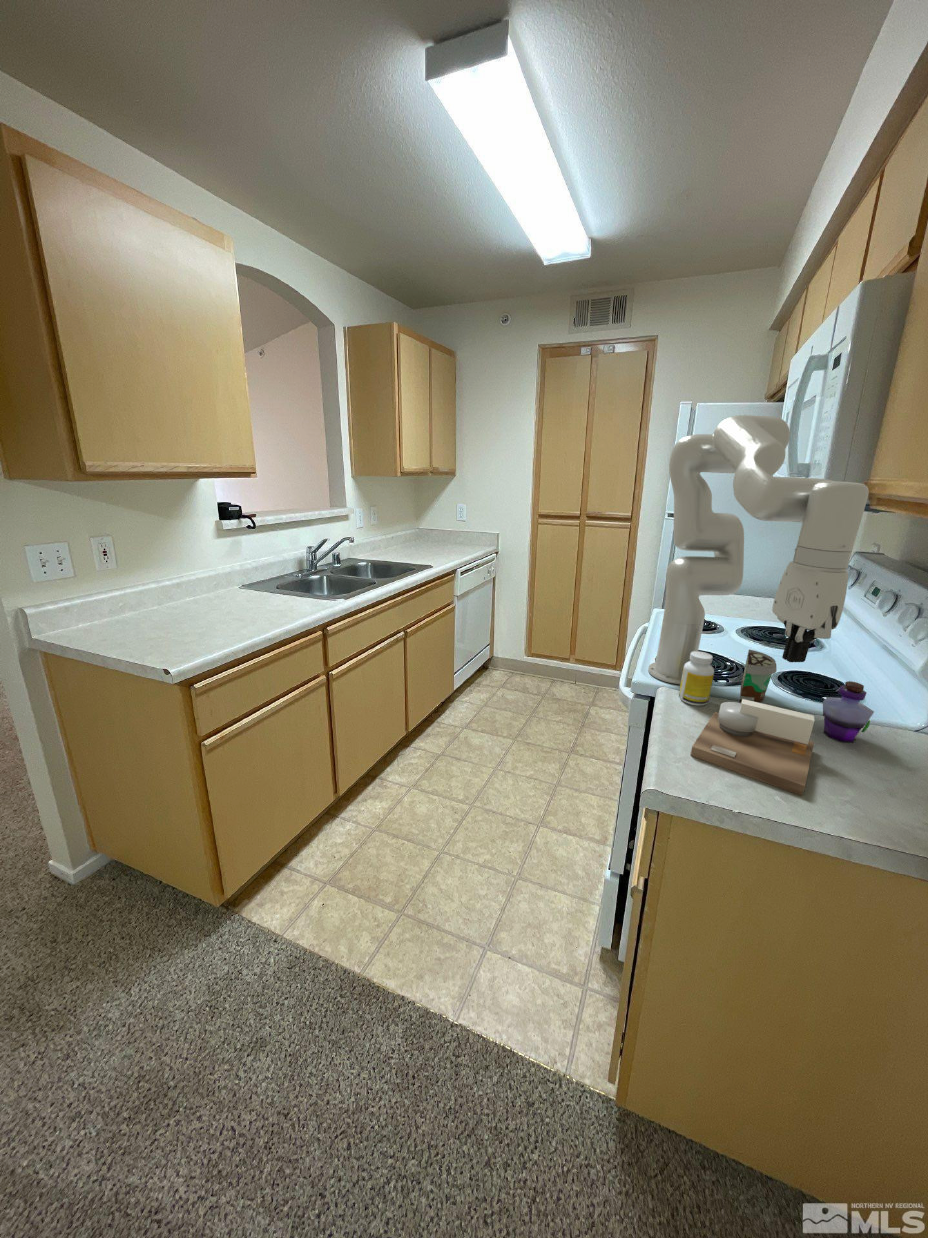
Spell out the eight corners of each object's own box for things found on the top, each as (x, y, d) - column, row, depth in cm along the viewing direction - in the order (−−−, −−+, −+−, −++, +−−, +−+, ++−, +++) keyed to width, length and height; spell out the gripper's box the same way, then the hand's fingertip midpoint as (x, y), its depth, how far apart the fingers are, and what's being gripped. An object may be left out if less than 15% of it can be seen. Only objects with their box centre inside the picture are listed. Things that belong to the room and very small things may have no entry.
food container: (769, 711, 111) (779, 671, 108) (738, 704, 114) (748, 665, 111) (768, 691, 122) (777, 654, 119) (740, 685, 125) (748, 648, 121)
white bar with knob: (716, 725, 98) (721, 703, 96) (719, 711, 104) (723, 690, 102) (808, 750, 90) (815, 726, 89) (806, 733, 96) (812, 710, 94)
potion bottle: (870, 751, 97) (888, 697, 93) (818, 740, 100) (833, 687, 96) (859, 731, 104) (875, 680, 100) (811, 721, 107) (825, 671, 104)
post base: (713, 720, 107) (715, 707, 106) (811, 751, 96) (815, 737, 95) (690, 755, 93) (693, 741, 92) (802, 796, 83) (806, 781, 82)
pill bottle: (711, 708, 112) (721, 661, 108) (681, 705, 113) (690, 658, 109) (703, 695, 118) (712, 651, 114) (675, 692, 119) (683, 648, 115)
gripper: (768, 549, 87) (746, 645, 93) (837, 568, 73) (806, 679, 79) (806, 550, 88) (782, 644, 94) (882, 569, 74) (847, 678, 80)
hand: (793, 660), depth 87 cm, fingers closed
